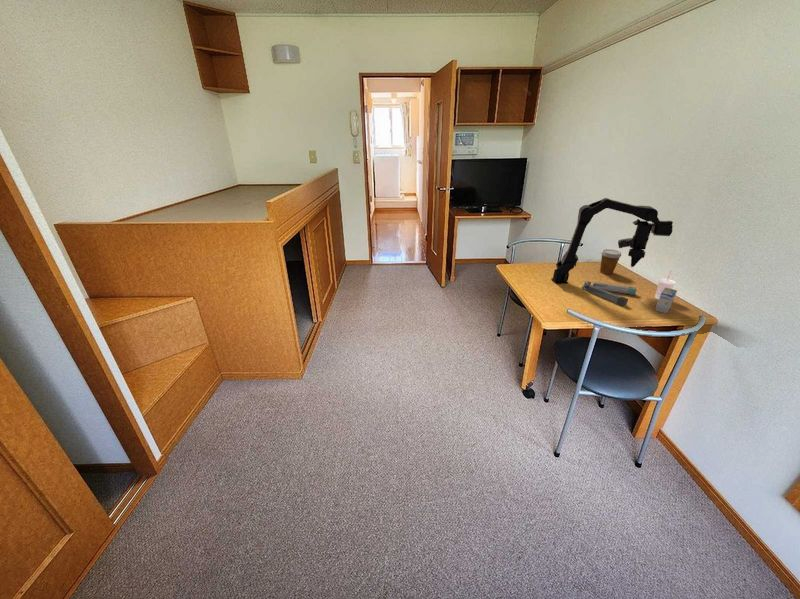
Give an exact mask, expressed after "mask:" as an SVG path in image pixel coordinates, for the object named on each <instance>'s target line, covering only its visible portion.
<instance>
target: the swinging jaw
mask: <svg viewBox="0 0 800 599" xmlns="http://www.w3.org/2000/svg"><path fill="white" fill-rule="evenodd" d="M592 285H593V286H595V287H598V288H600V289H603V290H605V291H608V292H610V293H618V294H625V295H630V296H635V295H636V293H637V290H638V289H637V287H636V286H635V287H634V286H627V285H618V284H612V283H606V282H598V281H593V282H592Z"/></svg>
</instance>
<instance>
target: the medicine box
mask: <svg viewBox="0 0 800 599" xmlns="http://www.w3.org/2000/svg"><path fill="white" fill-rule="evenodd" d="M677 292H678V290H677V289H673V288H672V289H670V288H665V289H664V290H663V292H662V293H661V295H660V298H659V300H658V299H657V300H658V301H657V303H656V306H655V309H654V311H656V312H657V311H658V312H661V313H664V314H668V312H669V309H670V308H671V307H672V304H673V302H674V299H675V297H676V295H677Z"/></svg>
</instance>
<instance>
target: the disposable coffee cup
mask: <svg viewBox="0 0 800 599" xmlns="http://www.w3.org/2000/svg"><path fill="white" fill-rule="evenodd" d="M600 254H601V258H600V260H601V261H600V268H599V272H600V273H601V274H604V275H612V274H614V271H615V269H616V267H617V264H618V262H619V260H620V258H621V257H622V252H621V251H619V250H616V249H607V248H606V249H603V250H602V251H601V253H600Z"/></svg>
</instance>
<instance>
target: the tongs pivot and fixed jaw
mask: <svg viewBox="0 0 800 599" xmlns="http://www.w3.org/2000/svg"><path fill="white" fill-rule="evenodd" d="M581 289H582V290H584V291H587V293H590V294H593V295H595V296H597V297H600V298H601V299H604V300H606V301H609V302H611V303H614V304H616V305H618V306H620V307H625V306H627V304H628V301H629V298H626V297H625V296H620V295H618V294H616V293H614V292H610V291H605V290H603V289H600V288H598V287H595V286H593V284H592V282H591V281H589V280H586V281H584V284H583V285H582V286H581Z"/></svg>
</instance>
